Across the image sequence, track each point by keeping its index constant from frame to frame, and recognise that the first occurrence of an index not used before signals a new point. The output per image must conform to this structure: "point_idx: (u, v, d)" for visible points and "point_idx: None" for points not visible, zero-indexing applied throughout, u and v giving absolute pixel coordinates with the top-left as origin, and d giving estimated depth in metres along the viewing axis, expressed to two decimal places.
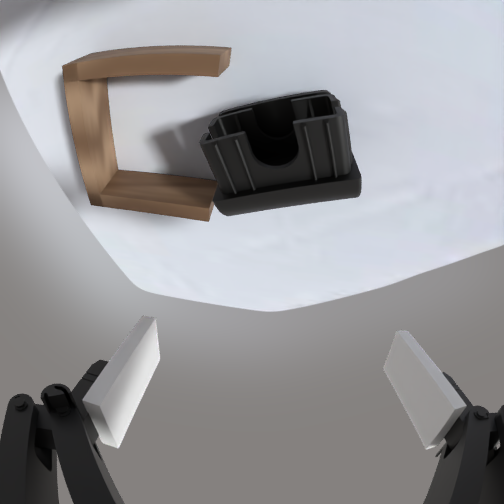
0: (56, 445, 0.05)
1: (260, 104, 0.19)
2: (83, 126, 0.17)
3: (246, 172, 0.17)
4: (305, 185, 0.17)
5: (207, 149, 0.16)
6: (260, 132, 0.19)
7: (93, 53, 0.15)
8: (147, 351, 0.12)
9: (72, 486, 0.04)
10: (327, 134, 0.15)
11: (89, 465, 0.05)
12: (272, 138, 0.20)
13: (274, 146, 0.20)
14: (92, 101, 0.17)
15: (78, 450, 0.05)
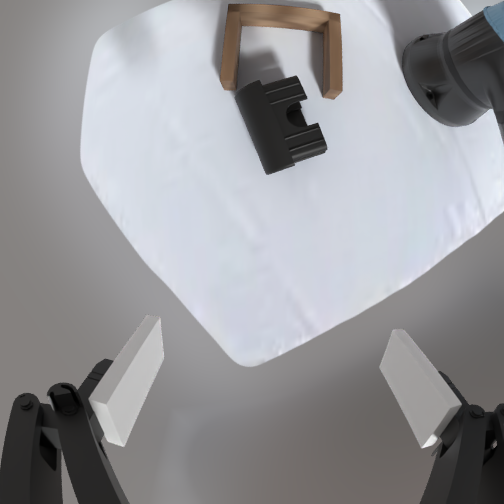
0: (62, 444, 0.05)
1: (301, 113, 0.31)
2: (297, 14, 0.24)
3: (281, 99, 0.25)
4: (282, 132, 0.26)
5: (294, 79, 0.25)
6: (286, 113, 0.30)
7: None
8: (152, 350, 0.12)
9: (77, 485, 0.04)
10: (315, 141, 0.27)
11: (95, 464, 0.05)
12: None
13: None
14: (308, 22, 0.25)
15: (84, 449, 0.05)
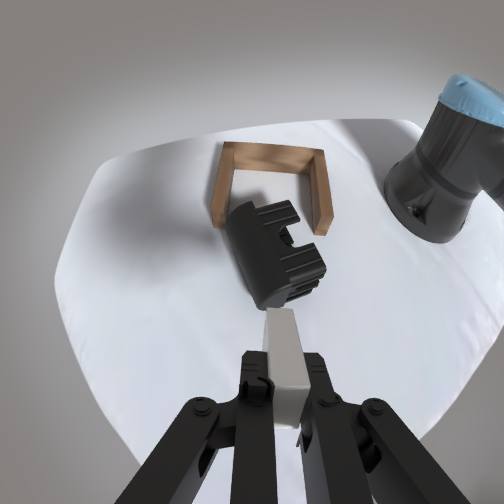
0: (237, 431, 0.07)
1: None
2: (285, 151, 0.36)
3: (273, 220, 0.28)
4: (275, 251, 0.25)
5: (286, 202, 0.29)
6: None
7: None
8: None
9: (238, 472, 0.06)
10: (312, 261, 0.26)
11: (266, 457, 0.06)
12: None
13: None
14: (295, 161, 0.37)
15: (260, 441, 0.07)
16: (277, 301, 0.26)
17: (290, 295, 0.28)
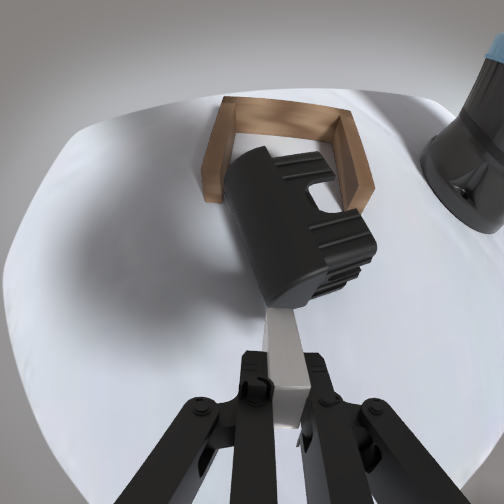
0: (236, 431, 0.07)
1: None
2: (303, 108, 0.26)
3: (296, 174, 0.18)
4: (301, 214, 0.15)
5: (314, 153, 0.19)
6: None
7: None
8: None
9: (238, 472, 0.06)
10: (356, 235, 0.16)
11: (266, 457, 0.06)
12: None
13: None
14: (315, 122, 0.27)
15: (260, 441, 0.07)
16: (299, 297, 0.16)
17: (318, 289, 0.18)
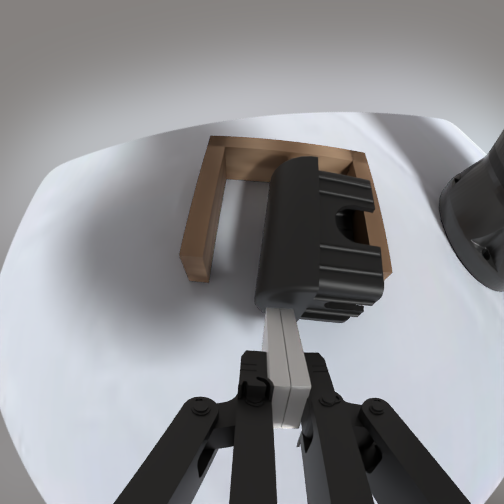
0: (236, 431, 0.07)
1: None
2: (308, 153, 0.22)
3: (337, 193, 0.17)
4: (319, 230, 0.15)
5: (364, 180, 0.18)
6: None
7: None
8: None
9: (237, 472, 0.06)
10: (367, 272, 0.15)
11: (266, 457, 0.06)
12: None
13: None
14: (322, 169, 0.23)
15: (259, 441, 0.07)
16: (288, 308, 0.16)
17: (312, 310, 0.17)
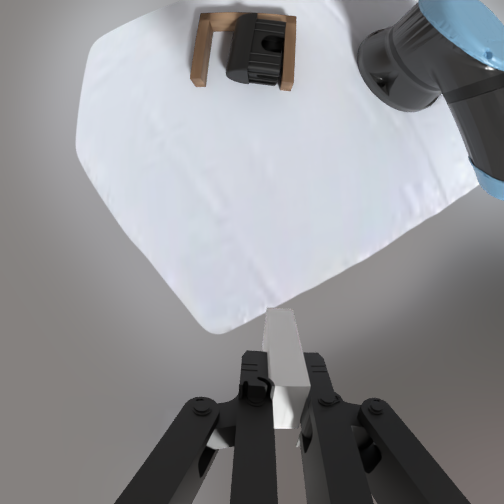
0: (237, 431, 0.07)
1: None
2: None
3: (265, 30, 0.28)
4: (251, 47, 0.28)
5: (283, 22, 0.27)
6: (268, 48, 0.32)
7: None
8: None
9: (238, 472, 0.06)
10: (272, 63, 0.29)
11: (266, 457, 0.06)
12: None
13: None
14: None
15: (260, 441, 0.07)
16: (240, 77, 0.32)
17: (253, 78, 0.33)
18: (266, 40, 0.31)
